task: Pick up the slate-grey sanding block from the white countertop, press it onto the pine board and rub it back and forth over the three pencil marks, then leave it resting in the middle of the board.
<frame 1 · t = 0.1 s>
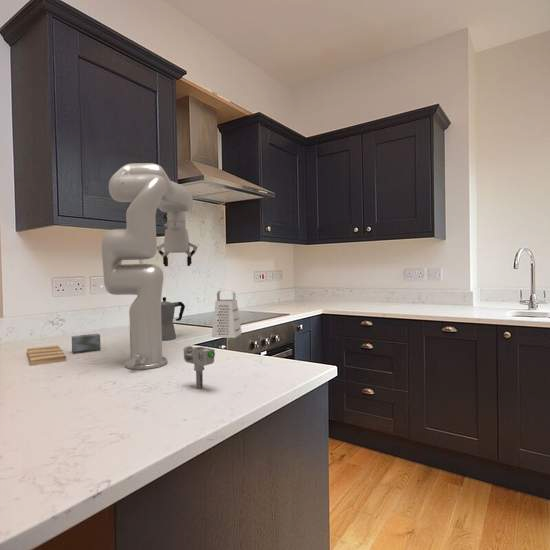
hand: (177, 266, 165), 31 cm above the worktop, fingers open, 9 cm apart
pine board: (45, 356, 135), on the worktop
grater: (227, 335, 171), on the worktop
coffeepot: (167, 339, 166), on the worktop
sanding block: (86, 351, 143), on the worktop
mechanical component: (199, 388, 96), on the worktop
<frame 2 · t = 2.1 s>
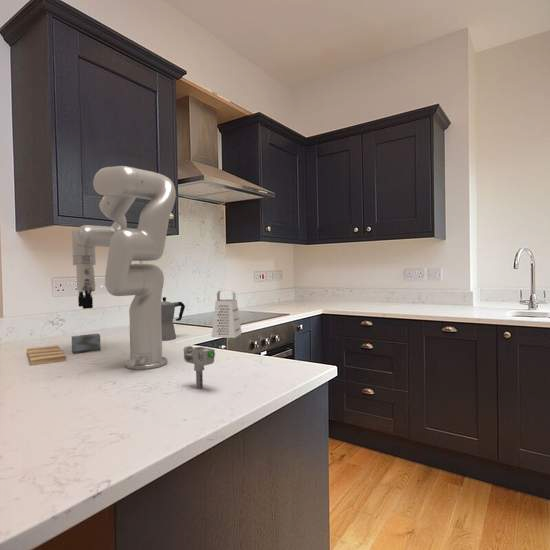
hand: (85, 307, 143), 16 cm above the worktop, fingers open, 9 cm apart
nothing on the worktop moved.
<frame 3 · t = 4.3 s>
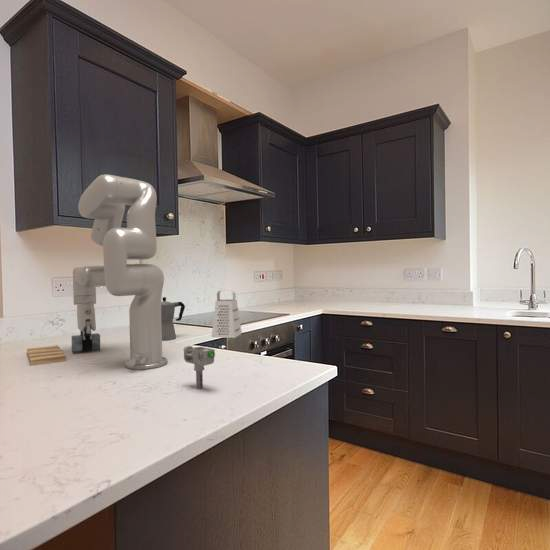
hand: (86, 348, 143), 1 cm above the worktop, fingers closed on sanding block, 4 cm apart
sanding block: (86, 351, 143), on the worktop, touching gripper
everything else where it was.
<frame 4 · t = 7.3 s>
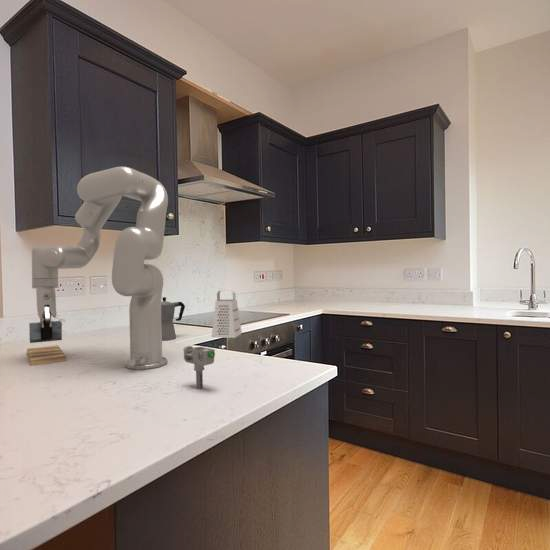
hand: (45, 337, 129), 8 cm above the worktop, fingers closed on sanding block, 4 cm apart
sanding block: (45, 340, 129), point 7 cm above the worktop, touching gripper
everything else where it was.
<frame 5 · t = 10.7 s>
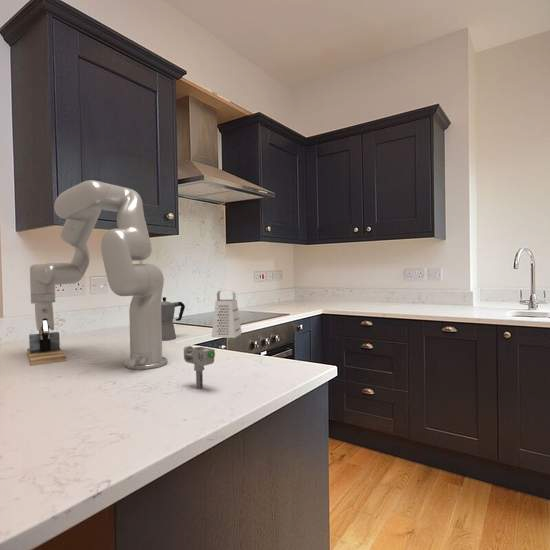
hand: (44, 349, 138), 2 cm above the worktop, fingers closed on sanding block, 4 cm apart
sanding block: (44, 350, 138), point 2 cm above the worktop, touching gripper
everything else where it was.
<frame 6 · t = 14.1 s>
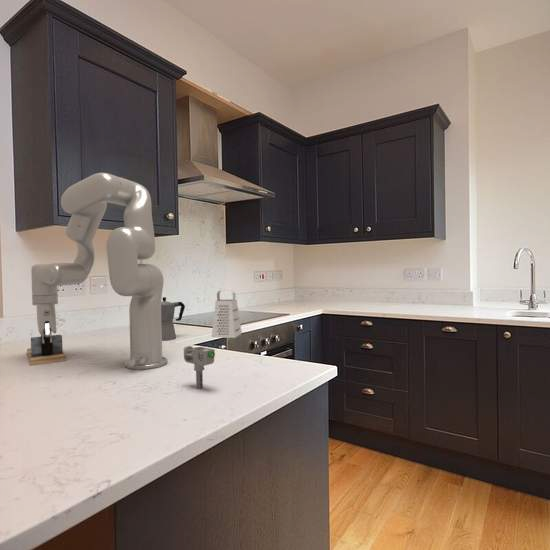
hand: (46, 353, 132), 2 cm above the worktop, fingers closed on sanding block, 4 cm apart
sanding block: (47, 354, 132), point 2 cm above the worktop, touching gripper
everything else where it was.
when the fingers open (2 cm above the worktop, at t = 17.3 s): sanding block stays where it is, resting on pine board.
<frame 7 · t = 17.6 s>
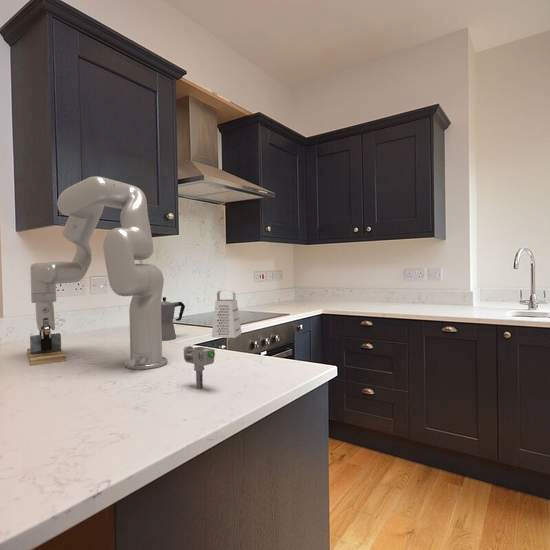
hand: (45, 347, 135), 3 cm above the worktop, fingers open, 7 cm apart
sanding block: (45, 352, 135), point 2 cm above the worktop, touching pine board
everything else where it was.
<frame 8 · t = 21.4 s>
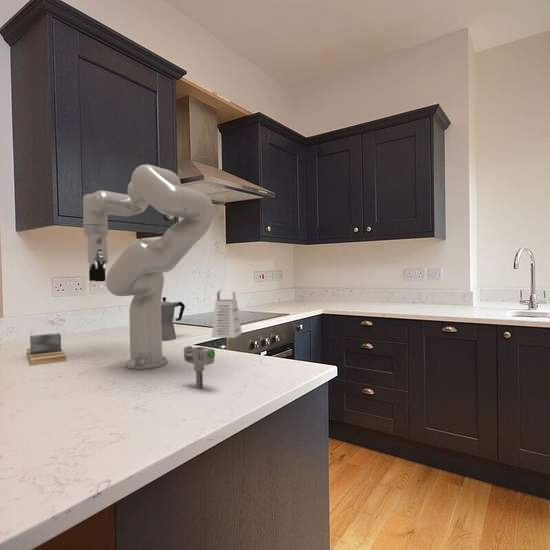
hand: (97, 281, 132), 26 cm above the worktop, fingers open, 9 cm apart
nothing on the worktop moved.
at the end: sanding block inside the target area on the pine board (0.1 cm from its centre), point 1.5 cm above the pine board's base; sanding block tilted 0°; the gripper is holding nothing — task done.
